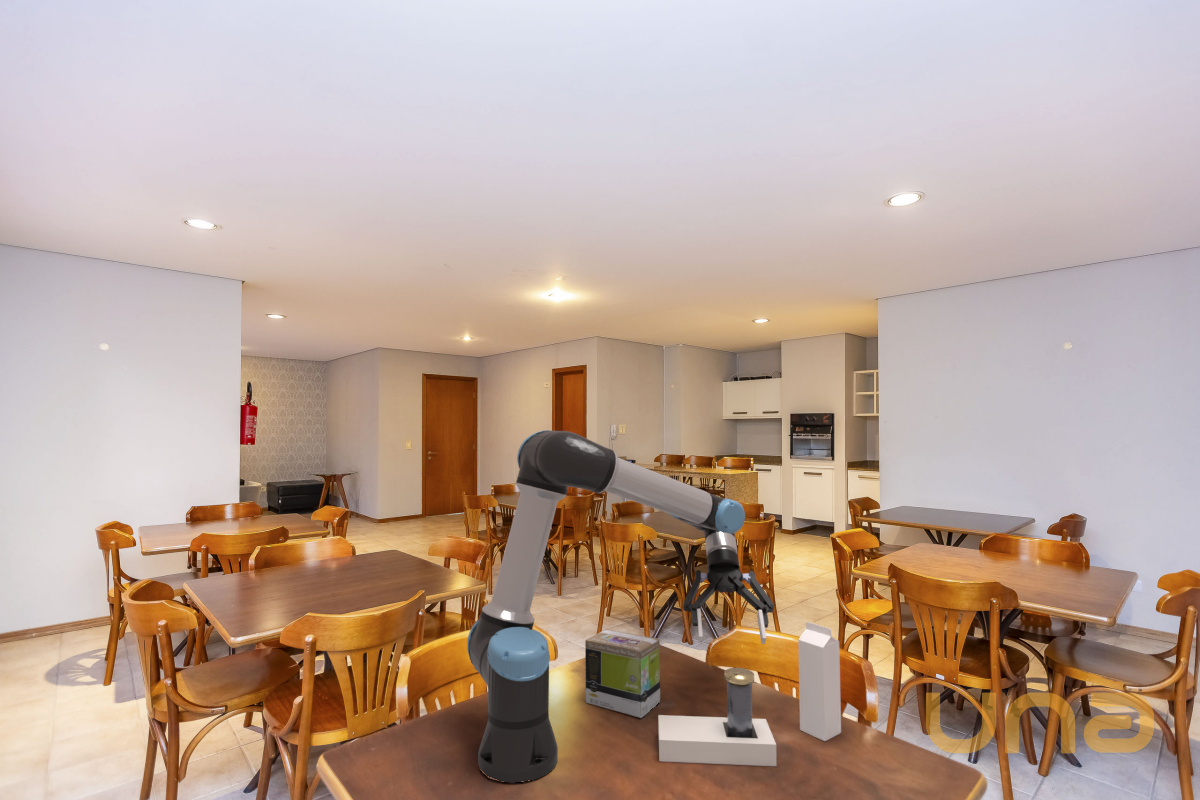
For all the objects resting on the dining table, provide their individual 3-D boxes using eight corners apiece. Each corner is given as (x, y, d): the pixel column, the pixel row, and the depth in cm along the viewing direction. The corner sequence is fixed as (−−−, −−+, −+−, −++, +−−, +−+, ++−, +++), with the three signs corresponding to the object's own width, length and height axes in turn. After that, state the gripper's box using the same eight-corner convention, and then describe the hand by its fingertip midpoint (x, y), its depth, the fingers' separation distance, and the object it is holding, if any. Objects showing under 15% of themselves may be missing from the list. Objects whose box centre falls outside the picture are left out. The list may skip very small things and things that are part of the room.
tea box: (661, 702, 139) (661, 638, 140) (640, 720, 131) (640, 651, 131) (606, 687, 147) (606, 626, 148) (583, 703, 139) (583, 638, 139)
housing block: (659, 761, 114) (659, 739, 115) (658, 734, 124) (658, 715, 125) (776, 766, 113) (776, 744, 113) (766, 738, 123) (765, 719, 123)
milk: (825, 742, 122) (822, 632, 122) (799, 730, 126) (797, 624, 127) (841, 732, 125) (839, 626, 126) (816, 721, 130) (814, 618, 131)
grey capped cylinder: (727, 758, 115) (726, 679, 116) (723, 742, 121) (722, 667, 122) (757, 759, 115) (756, 680, 116) (752, 743, 121) (751, 668, 122)
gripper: (772, 564, 147) (787, 649, 132) (670, 563, 149) (674, 646, 134) (776, 547, 142) (793, 633, 127) (671, 546, 144) (675, 630, 128)
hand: (732, 640), depth 130 cm, fingers open, 13 cm apart
